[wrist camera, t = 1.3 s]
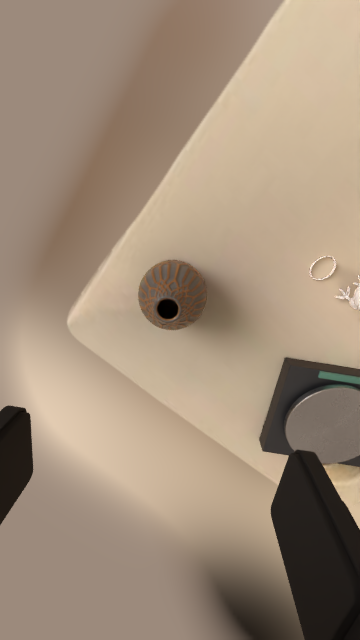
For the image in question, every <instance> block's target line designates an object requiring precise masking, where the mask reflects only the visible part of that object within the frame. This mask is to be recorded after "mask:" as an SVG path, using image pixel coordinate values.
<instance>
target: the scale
mask: <svg viewBox="0 0 360 640" xmlns="http://www.w3.org/2000/svg"><path fill="white" fill-rule="evenodd" d="M335 384H341V385H348V386H353V387H356V388H358V389H360V369H354V368H347V367H341V366H335V365H328V364H322V363H316V362H309V361H303V360H297V359H290V358H285V360H284V363H283V366H282V369H281V372H280V376H279V379H278V382H277V385H276V388H275V392H274V395H273V398H272V401H271V404H270V408H269V411H268V414H267V417H266V420H265V424H264V427H263V430H262V433H261V436H260V444H261V447H262V450H263V451H265V452H271V453H277V454H283V455H290V454H291V453H294V452H295V451H294V450H293V449H292V448H291V446H290V445H289V443H288V441H287V438H286V436H285V432H284V420H285V416H286V414H287V412H288V410H289V408H290V407H291V406H292V404H293V403H294V402H295V401H296V400H297V399H298V398H299V397H301V396H302V395H303V394H305V393H307V392H308V391H311V390H313V389H315V388H318V387H322V386H326V385H335ZM338 463H339V464H345V465H351V466H358V467H360V455H359V456H357V457H355V458H353V459H350V460H347V461H343V462H338Z"/></svg>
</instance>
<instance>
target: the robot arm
mask: <svg viewBox="0 0 360 640" xmlns="http://www.w3.org/2000/svg"><path fill="white" fill-rule="evenodd" d="M32 473H33V458H32V439H31V420H30V414H29V413H27V412H26V409H25V408H21V407H14V406H6V407H4V408H3V409H2V410H1V411H0V524H1V523H2V521H3V520H4V518H5V517H6V515H7V514H8V512H9V511H10V509H11V508H12V506H13V505H14V503H15V502H16V500H17V499H18V497H19V496H20V494H21V493H22V491H23V490H24V488H25V487H26V485H27V483H28V482H29V480H30V478H31V476H32ZM271 517H272V521H273V525H274V528H275V532H276V536H277V539H278V543H279V546H280V550H281V554H282V558H283V561H284V565H285V569H286V572H287V576H288V580H289V583H290V587H291V591H292V594H293V598H294V601H295V605H296V609H297V613H298V616H299V620H300V624H301V627H302V631H303V635H304V638H305V640H360V529H359V528H358V526H357V524H356V522H355V521H354V519H353V517H352V515H351V513H350V512H349V510H348V508H347V506H346V505H345V503H344V502H343V501H342V500H341V498H340V496H339V494H338V493H337V491H336V489H335V487H334V485H333V484H332V482H331V480H330V478H329V476H328V474H327V473H326V471H325V469H324V467H323V465H322V464H321V462H320V460H319V458H318V456H317V455H316V453H314V452H312V451H305V450H298V449H297V450H295V452H294V453H291V454H290V455H289V458H288V461H287V463H286V466H285V469H284V472H283V474H282V477H281V480H280V483H279V486H278V488H277V491H276V494H275V497H274V500H273V502H272V505H271Z"/></svg>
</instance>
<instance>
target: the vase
mask: <svg viewBox="0 0 360 640" xmlns="http://www.w3.org/2000/svg"><path fill="white" fill-rule="evenodd" d="M138 298H139V304H140V307H141V310H142V312H143V314H144V315H145V317H146V318H147V319H148V320H149V321H150V322H151V323H152V324H154V325H155V326H157V327H159V328H162V329H166V330H178V329H182V328H185V327H187V326H189V325H191V324H192V323H194V322H195V321H196V320H197V319H198V318H199V316H200V315H201V314H202V312H203V310H204V308H205V305H206V300H207V290H206V285H205V282H204V280H203V278H202V276H201V275H200V273H199V272H198V271H197V270H196V269H195V268H194V267H193V266H191V265H190V264H188V263H185V262H182V261H178V260H168V261H164V262H161V263H158V264H157V265H155V266H153V267H152V268H151V269H150V270H149V271H148V272H147V273H146V274H145V275H144V277H143V279H142V281H141V283H140V286H139V292H138Z"/></svg>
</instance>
